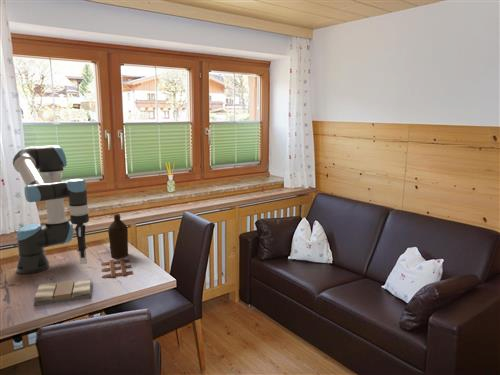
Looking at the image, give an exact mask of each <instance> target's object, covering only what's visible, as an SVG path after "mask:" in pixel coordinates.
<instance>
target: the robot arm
mask: <svg viewBox="0 0 500 375" xmlns="http://www.w3.org/2000/svg"><path fill="white" fill-rule="evenodd" d="M65 153H66V152H65V151H64V149H63V148H62V147H61V146H59V145H43V146H42V145H41V146H27V147H25V148H22V149H20V150H19V151H17V153H16V154H15V155H14V157H13V160H12V165H13V168H14V169H15V171H16V172H17V173H19V174H20V177H21V178H22V181H23V182H24V185H25V187H24V196H25V200H26V202H28V203H38V202H45V206H46V215H47V219H45V221H44V225H41V224H40V223H31V224H27V225H24V226H22V227H20V228H18V229H17V231H16V241H17V249H18V260H17V264H16V272H17V273H18V274H21V275H28V274H29V275H31V274H35V273H40V272H43V271H45V270H47V269H48V268H49V267H50V261H49V259H48V257H47V256H46V253H45V248H49V247H55V246H58V245H59V246H60V245H64V244H68V243H70V242H71V241H72V240H73V237H74V230H75V232H76V234H75V235H76V240H77V247H78V248H77V250H76V251H77V252H78V253H79V264H80V265H86V264H87V263H88V261H87V249H88V246H87V244H86V225H85V224H87V223H88V222H89V220H90V219H89V218H90V217H89V204H88V194H87V193H88V192H87V184H86V183H87V182H86V180H85V179H83V178H74V179H73V178H72V179H64V180H63V181H62V173H63V172H64V168H65V167H66V166H67V157H66V154H65ZM66 198H68V205H69V207H67V209H68V210H69V214H70V215H69V218H70V220H69V218H68V217H67V216H66V213H65V212H66V210H65V203H64V199H66ZM73 225H75V229H74V226H73Z"/></svg>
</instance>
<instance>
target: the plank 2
mask: <svg viewBox="0 0 500 375" xmlns="http://www.w3.org/2000/svg"><path fill="white" fill-rule="evenodd" d="M91 282H93V281H92V277H87V278H81V279H75V280H74V288H73V297H76V296H81V295H86V294H90V290H91Z"/></svg>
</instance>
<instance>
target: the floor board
mask: <svg viewBox="0 0 500 375" xmlns="http://www.w3.org/2000/svg"><path fill="white" fill-rule="evenodd" d="M74 284H75V280H68V281H60V282H57V287H56V290H55V293H54V297H53V300H47V301H37V302H35V300H34V301H33V307H39V306H44V305H52V304H58V303H65V302H73V301H78V300H79V301H80V300H85V299H86V300H88V299H91V298H92V295H93V294H92V293H93V288H94V287H93V284H94V283H93V281H92V282H91V290H90V294H86V295H81V296H76V297H73V288H74Z"/></svg>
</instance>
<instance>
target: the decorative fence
mask: <svg viewBox="0 0 500 375" xmlns="http://www.w3.org/2000/svg"><path fill="white" fill-rule="evenodd" d="M118 259H119V260H115V261H114V259H109V261H106V262H102V263H100V265H101V266H103V267H104V266H109V267H106V268H102V269H101V272H103V273H104V272H110V273H109V274H108V273H107V274H103V275H102V276H101V278H102V279H110V277H111V278H116V276H117V277H123V276H128V275H129V276H130V275H134V272H133V270H130V271H129V270H128V271H127V269H132V264H127V265H125V263H131V261H130V260H131V259H124V258H118ZM118 264H119V266H115V265H118ZM119 270H121V272H116V271H119Z"/></svg>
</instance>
